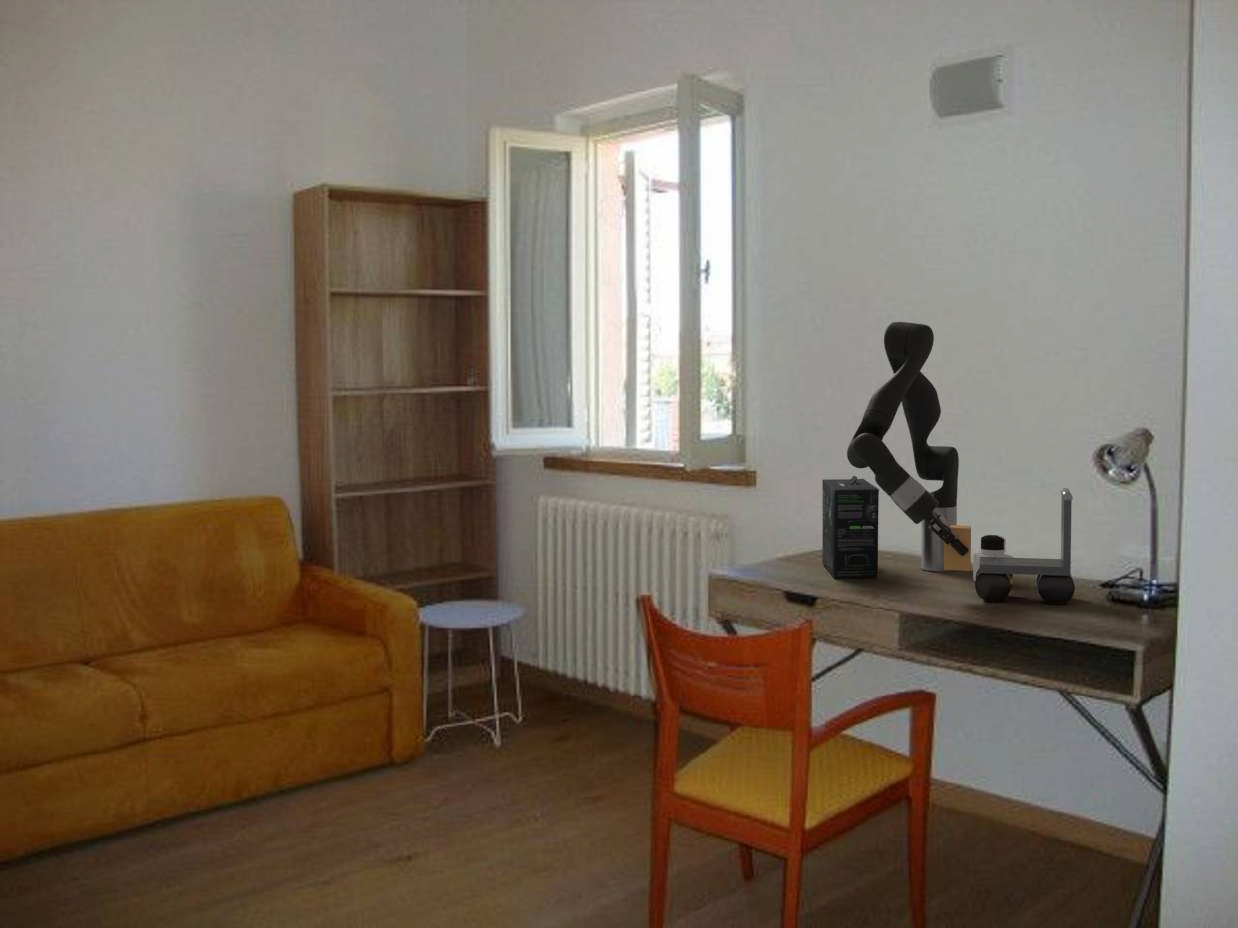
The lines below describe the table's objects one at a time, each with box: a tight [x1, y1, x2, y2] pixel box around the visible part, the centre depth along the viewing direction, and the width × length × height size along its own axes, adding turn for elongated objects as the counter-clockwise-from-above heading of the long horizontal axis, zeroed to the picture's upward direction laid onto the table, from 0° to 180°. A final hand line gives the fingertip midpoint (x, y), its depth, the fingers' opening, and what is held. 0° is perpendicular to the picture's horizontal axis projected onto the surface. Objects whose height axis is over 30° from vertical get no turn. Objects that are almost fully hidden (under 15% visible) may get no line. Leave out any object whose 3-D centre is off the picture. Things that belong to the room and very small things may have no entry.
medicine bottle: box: [972, 534, 1014, 585], centre depth 311 cm, size 7×7×12 cm
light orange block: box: [944, 524, 972, 572], centre depth 290 cm, size 4×6×10 cm
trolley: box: [974, 487, 1076, 606], centre depth 289 cm, size 12×22×26 cm, turn 73°
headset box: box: [821, 475, 880, 580], centre depth 330 cm, size 22×12×26 cm, turn 179°
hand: (965, 551), depth 289 cm, fingers closed on light orange block, 4 cm apart
